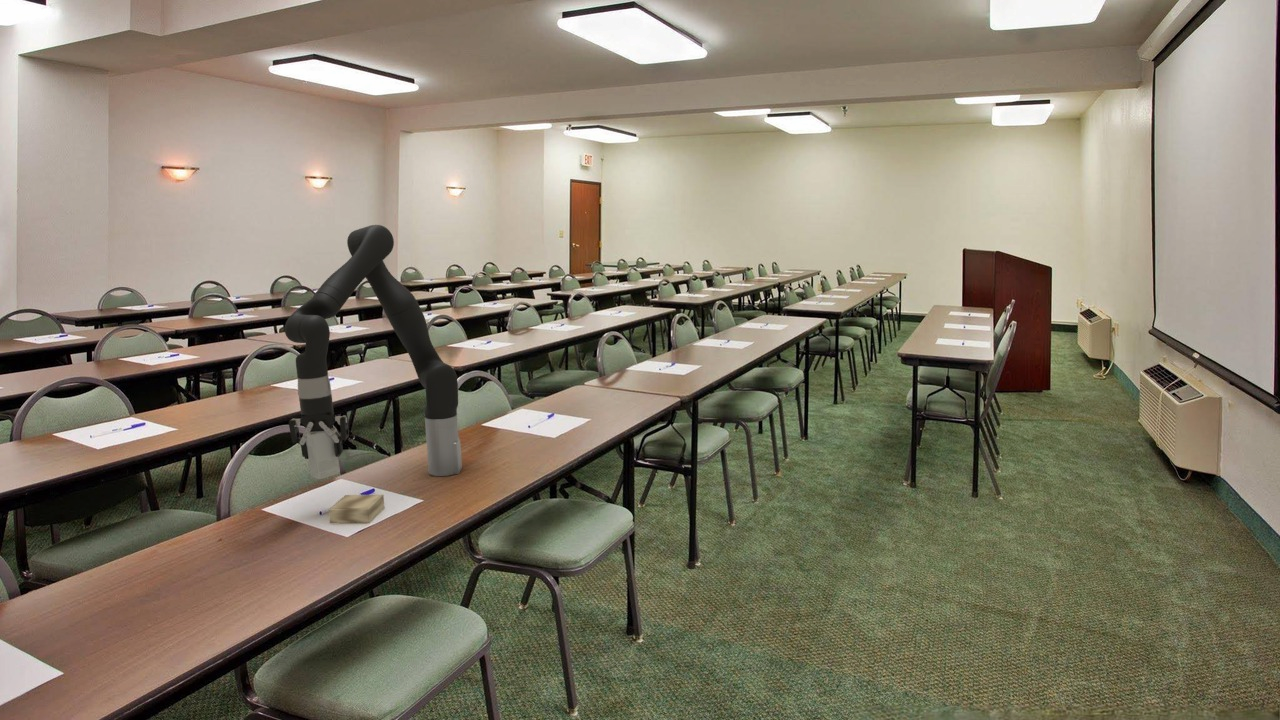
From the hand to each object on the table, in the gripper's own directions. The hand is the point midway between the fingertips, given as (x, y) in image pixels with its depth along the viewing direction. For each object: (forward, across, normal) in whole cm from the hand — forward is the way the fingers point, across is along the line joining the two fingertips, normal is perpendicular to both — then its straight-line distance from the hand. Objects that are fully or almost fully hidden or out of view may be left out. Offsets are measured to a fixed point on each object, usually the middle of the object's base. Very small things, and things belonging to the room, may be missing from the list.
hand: (323, 456), depth 186 cm
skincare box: (+5, 0, 0) cm, 5 cm away
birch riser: (+15, -8, +4) cm, 18 cm away
